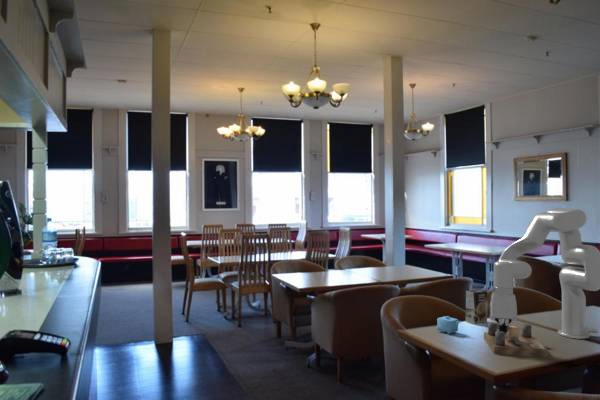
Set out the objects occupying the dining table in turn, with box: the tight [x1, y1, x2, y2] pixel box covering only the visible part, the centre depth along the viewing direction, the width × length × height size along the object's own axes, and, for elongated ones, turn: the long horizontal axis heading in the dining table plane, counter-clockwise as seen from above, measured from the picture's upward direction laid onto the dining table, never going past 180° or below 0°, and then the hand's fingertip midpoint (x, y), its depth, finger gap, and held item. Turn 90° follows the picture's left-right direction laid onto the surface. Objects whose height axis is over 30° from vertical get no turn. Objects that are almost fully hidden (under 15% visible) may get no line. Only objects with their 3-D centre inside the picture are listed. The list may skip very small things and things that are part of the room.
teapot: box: [436, 315, 462, 335], centre depth 212 cm, size 12×6×8 cm, turn 41°
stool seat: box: [483, 321, 549, 358], centre depth 191 cm, size 20×20×8 cm
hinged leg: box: [508, 325, 522, 345], centre depth 187 cm, size 10×4×5 cm, turn 169°
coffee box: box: [465, 289, 488, 325], centre depth 230 cm, size 9×6×16 cm
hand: (502, 333), depth 191 cm, fingers closed
